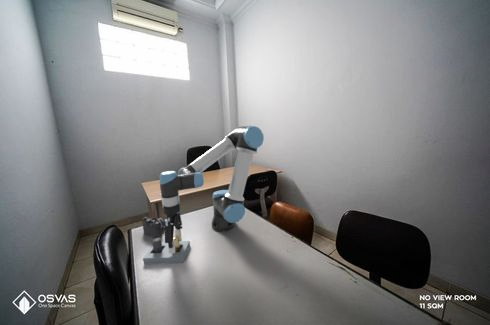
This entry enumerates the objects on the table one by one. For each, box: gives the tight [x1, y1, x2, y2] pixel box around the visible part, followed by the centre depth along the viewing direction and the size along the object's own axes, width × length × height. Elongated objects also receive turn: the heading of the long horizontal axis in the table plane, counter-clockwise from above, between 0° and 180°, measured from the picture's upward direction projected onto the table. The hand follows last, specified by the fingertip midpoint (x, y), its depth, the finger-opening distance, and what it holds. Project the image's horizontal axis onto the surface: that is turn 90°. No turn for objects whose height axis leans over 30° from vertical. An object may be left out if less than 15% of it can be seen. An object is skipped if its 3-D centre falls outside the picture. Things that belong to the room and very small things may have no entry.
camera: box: [141, 216, 166, 239], centre depth 106 cm, size 14×11×10 cm
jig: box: [142, 237, 191, 265], centre depth 86 cm, size 18×12×8 cm, turn 91°
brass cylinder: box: [173, 235, 180, 252], centre depth 86 cm, size 4×4×8 cm
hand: (175, 246), depth 86 cm, fingers open, 8 cm apart
